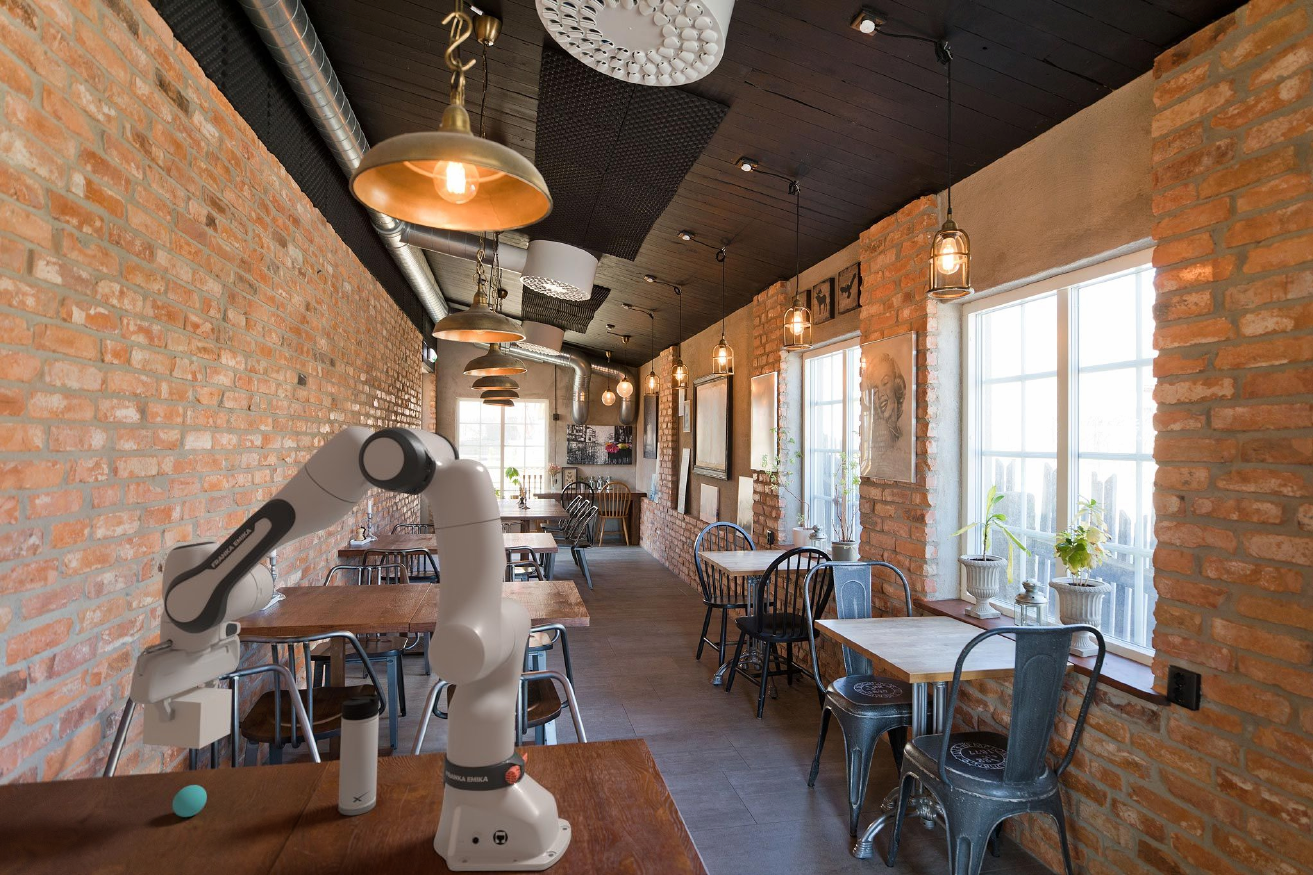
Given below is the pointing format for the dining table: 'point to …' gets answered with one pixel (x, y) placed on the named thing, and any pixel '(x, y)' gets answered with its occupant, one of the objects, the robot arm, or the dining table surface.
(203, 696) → the off-white rectangular block
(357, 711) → the travel mug
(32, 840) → the dining table surface
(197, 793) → the ball
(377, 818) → the dining table surface
